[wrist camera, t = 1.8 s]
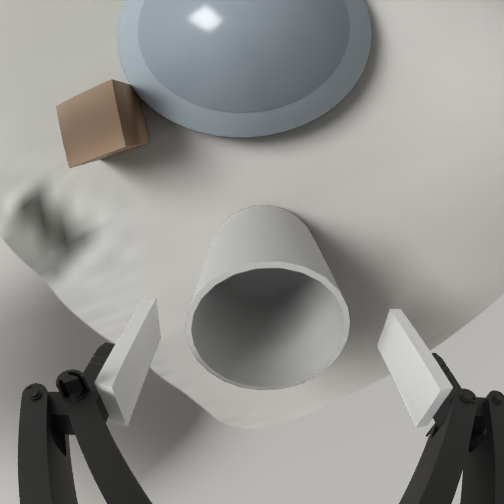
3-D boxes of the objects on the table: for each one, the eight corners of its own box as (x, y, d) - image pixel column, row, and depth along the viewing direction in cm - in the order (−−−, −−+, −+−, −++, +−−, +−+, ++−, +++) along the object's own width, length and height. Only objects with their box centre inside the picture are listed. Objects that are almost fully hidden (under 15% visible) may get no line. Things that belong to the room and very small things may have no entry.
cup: (291, 185, 19) (321, 231, 11) (338, 305, 22) (372, 390, 14) (192, 229, 20) (153, 300, 12) (253, 336, 24) (253, 427, 15)
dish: (142, -52, 11) (137, -60, 10) (362, -45, 11) (367, -52, 10) (116, 137, 17) (108, 139, 16) (358, 149, 18) (365, 151, 17)
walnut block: (88, 107, 17) (56, 106, 13) (138, 87, 16) (111, 79, 13) (99, 159, 18) (69, 168, 14) (150, 142, 18) (125, 146, 14)
